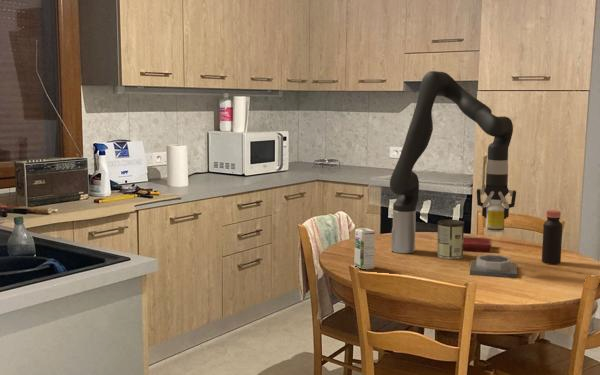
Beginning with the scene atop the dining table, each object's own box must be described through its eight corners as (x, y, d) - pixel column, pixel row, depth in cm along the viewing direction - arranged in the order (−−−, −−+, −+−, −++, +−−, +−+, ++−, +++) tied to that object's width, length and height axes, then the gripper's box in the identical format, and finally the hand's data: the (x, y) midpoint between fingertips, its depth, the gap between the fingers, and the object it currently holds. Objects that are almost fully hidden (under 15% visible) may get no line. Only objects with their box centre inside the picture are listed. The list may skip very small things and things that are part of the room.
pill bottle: (504, 232, 229) (506, 200, 227) (486, 232, 230) (487, 200, 229) (502, 229, 235) (504, 198, 234) (484, 228, 236) (485, 197, 235)
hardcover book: (491, 254, 262) (491, 243, 262) (439, 250, 268) (439, 240, 267) (491, 247, 274) (491, 237, 273) (441, 244, 279) (441, 235, 279)
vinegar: (546, 259, 251) (548, 209, 248) (563, 262, 246) (566, 211, 244) (538, 262, 246) (541, 211, 244) (555, 265, 241) (558, 213, 239)
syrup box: (353, 266, 240) (354, 228, 238) (367, 265, 243) (368, 227, 241) (361, 270, 235) (361, 231, 233) (375, 268, 237) (375, 230, 235)
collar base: (469, 274, 229) (470, 262, 229) (471, 263, 244) (472, 252, 244) (516, 278, 225) (517, 265, 224) (515, 266, 240) (516, 255, 239)
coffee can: (445, 251, 264) (446, 218, 262) (467, 256, 257) (469, 221, 255) (431, 256, 256) (432, 221, 255) (454, 260, 249) (455, 225, 248)
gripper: (475, 172, 228) (474, 218, 231) (518, 174, 224) (516, 221, 226) (476, 170, 236) (475, 215, 238) (517, 171, 231) (515, 217, 233)
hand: (495, 217), depth 232 cm, fingers closed on pill bottle, 6 cm apart
